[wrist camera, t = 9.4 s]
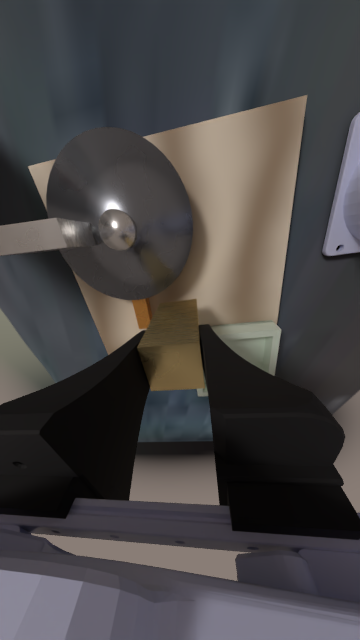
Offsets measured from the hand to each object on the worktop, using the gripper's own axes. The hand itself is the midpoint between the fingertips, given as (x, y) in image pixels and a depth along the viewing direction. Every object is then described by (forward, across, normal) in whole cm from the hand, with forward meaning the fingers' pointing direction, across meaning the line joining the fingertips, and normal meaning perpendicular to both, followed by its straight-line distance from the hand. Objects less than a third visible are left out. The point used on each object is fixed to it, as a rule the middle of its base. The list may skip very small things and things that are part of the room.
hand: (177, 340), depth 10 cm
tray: (+5, -4, +6) cm, 9 cm away
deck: (+6, 0, -1) cm, 6 cm away
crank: (+5, +4, -5) cm, 9 cm away
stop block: (+3, 0, 0) cm, 3 cm away
